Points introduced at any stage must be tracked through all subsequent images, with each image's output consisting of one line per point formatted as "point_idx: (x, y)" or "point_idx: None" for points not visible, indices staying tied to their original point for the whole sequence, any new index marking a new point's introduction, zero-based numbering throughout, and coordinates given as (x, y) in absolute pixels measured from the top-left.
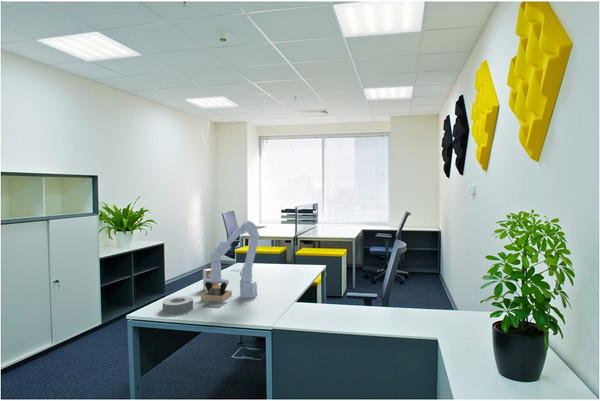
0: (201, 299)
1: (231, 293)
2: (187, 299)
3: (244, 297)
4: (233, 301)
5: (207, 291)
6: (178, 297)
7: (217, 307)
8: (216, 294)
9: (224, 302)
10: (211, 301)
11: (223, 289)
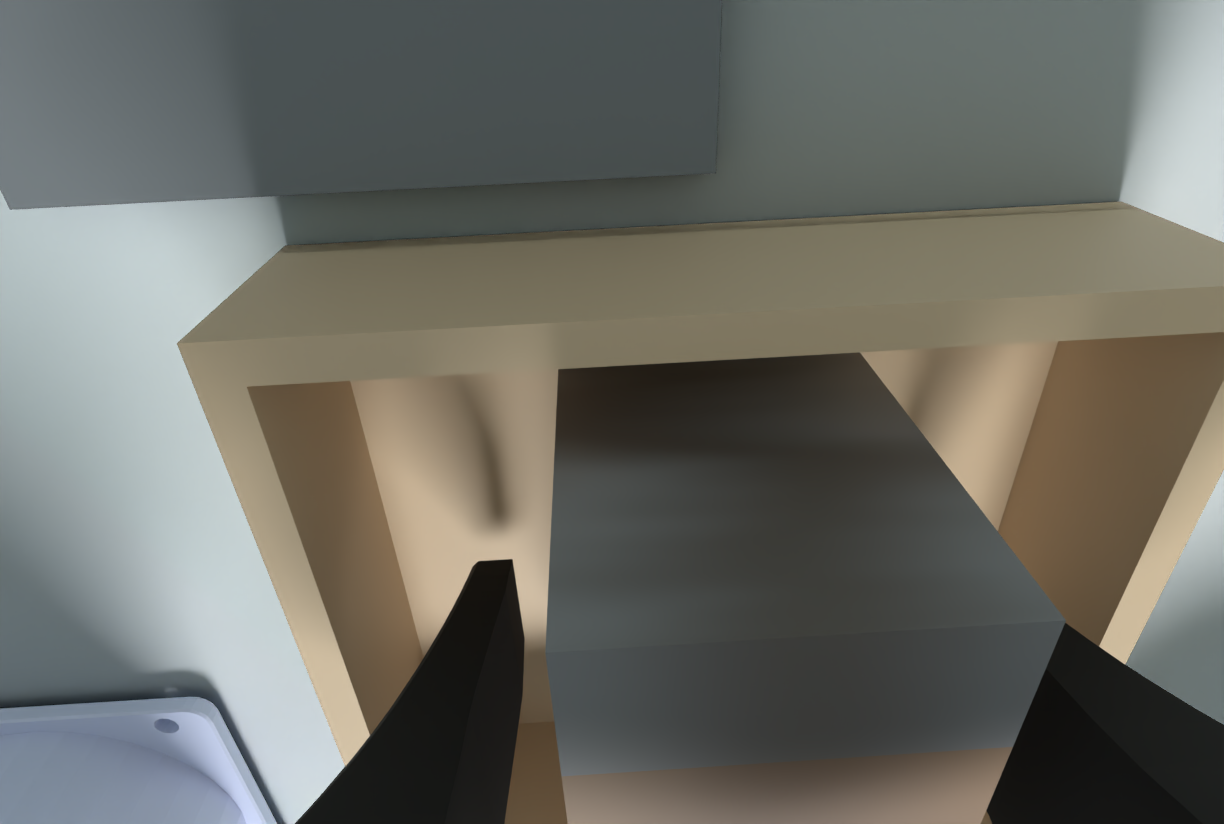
0: (1140, 221)
1: None
2: None
3: (4, 717)
4: (42, 432)
5: None
6: None
7: None
8: (592, 478)
9: (80, 146)
10: (671, 145)
11: (349, 786)
